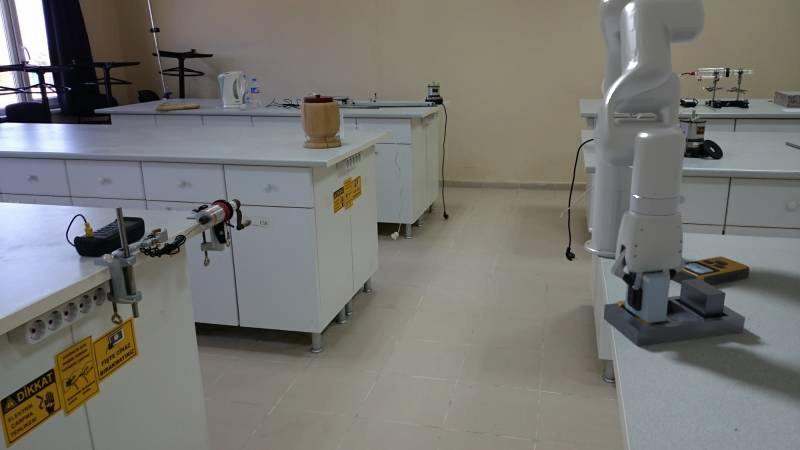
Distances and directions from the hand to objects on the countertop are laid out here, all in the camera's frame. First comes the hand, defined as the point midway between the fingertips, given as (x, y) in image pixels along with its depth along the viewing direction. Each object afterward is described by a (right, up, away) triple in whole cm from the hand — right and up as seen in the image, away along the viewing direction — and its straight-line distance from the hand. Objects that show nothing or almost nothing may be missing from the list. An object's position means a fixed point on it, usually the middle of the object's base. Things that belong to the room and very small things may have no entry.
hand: (645, 305), depth 106 cm
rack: (+6, -4, +2) cm, 7 cm away
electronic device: (+23, +2, +24) cm, 33 cm away
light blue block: (0, -1, 0) cm, 1 cm away
